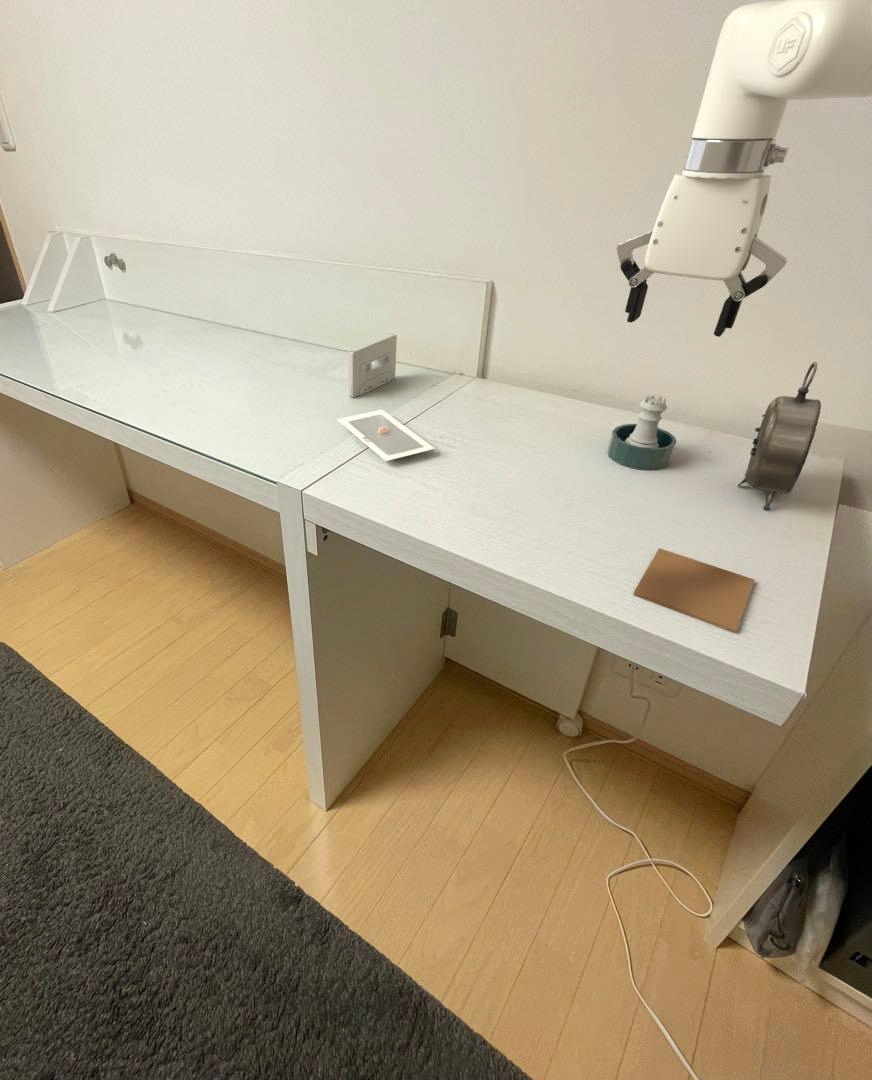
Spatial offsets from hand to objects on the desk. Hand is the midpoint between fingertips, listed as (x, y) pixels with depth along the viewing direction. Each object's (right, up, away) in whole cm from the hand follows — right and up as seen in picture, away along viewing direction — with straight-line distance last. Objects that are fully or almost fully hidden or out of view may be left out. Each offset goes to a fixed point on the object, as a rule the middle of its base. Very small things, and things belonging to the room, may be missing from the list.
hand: (674, 326), depth 73 cm
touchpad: (-34, -11, +15) cm, 39 cm away
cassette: (-34, +1, +32) cm, 47 cm away
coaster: (-5, -31, -13) cm, 34 cm away
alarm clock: (+11, -20, +2) cm, 23 cm away
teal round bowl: (0, -14, +10) cm, 17 cm away
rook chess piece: (0, -14, +10) cm, 17 cm away
